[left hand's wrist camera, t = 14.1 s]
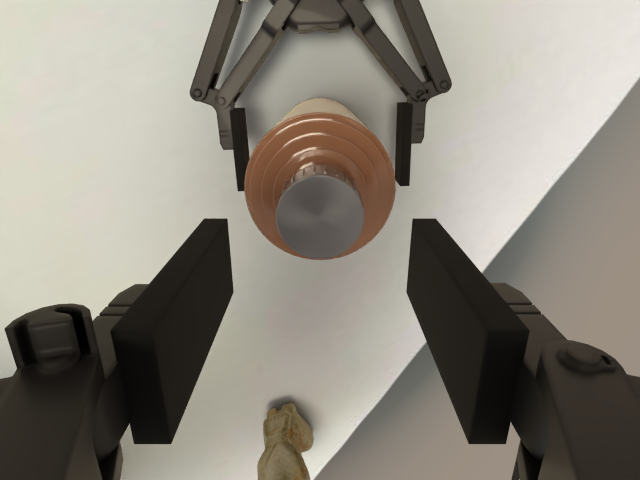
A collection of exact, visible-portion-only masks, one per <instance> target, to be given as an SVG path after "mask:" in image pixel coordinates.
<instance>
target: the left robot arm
mask: <svg viewBox="0 0 640 480" xmlns="http://www.w3.org/2000/svg"><path fill="white" fill-rule="evenodd" d="M232 294H233V281H232V269H231V257H230V245H229V233H228V221H227V219H204V220H203V221H202V222H201V223H200V224H199V226H198V227H197V228H196V229H195V230H194V232H193V233H192V234H191V235H190V236H189V238H188V239H187V240H186V241H185V242H184V243H183V245H182V246H181V247H180V248H179V249H178V251H177V252H176V253H175V254H174V255H173V256H172V258H171V259H170V260H169V261H168V262H167V264H166V265H165V266H164V267H163V268H162V270H161V271H160V272H159V273H158V274H157V275H156V277H155V278H154V279H153V280H152V281H151V283H150V284H135V285H133V286H131V287H130V288H128V289H126V290H124V291H123V292H121V293H119V294H118V295H117V296H116V297H115V298H114V299H113V300H112V301H111V302H110V303H109V304H108V307H106V308H105V309H104V310H103V311H102V312H101V313H100V316H97V317H96V318H95V319H94V320H93V321H92V317H91V313H90V310H89V309H88V308H86V307H85V306H84V305H78V304H58V305H53V306H48V307H43V308H40V309H37V310H35V311H32V312H29V313H26V314H24V315H23V316H21V317H19V318H17V319H15V320H14V321H12V322H11V323H10V324H9V325H8V326H7V327H6V328H5V332H6V335H7V338H8V341H9V344H10V347H11V350H12V354H13V357H14V360H15V363H16V366H17V370H16V372H15V373H14V375H13V377H8V378H3V379H0V480H120V477H121V470H122V463H123V455H122V449H121V444H120V439H121V437H122V436H123V434H124V432H125V430H126V429H127V427H128V425H129V423H130V426H131V431H132V436H133V440H134V444H171V443H172V441H173V438H174V436H175V433H176V431H177V428H178V426H179V423H180V421H181V419H182V416H183V414H184V411H185V409H186V406H187V404H188V402H189V399H190V397H191V394H192V392H193V389H194V387H195V385H196V382H197V380H198V377H199V375H200V372H201V370H202V367H203V365H204V363H205V360H206V358H207V355H208V353H209V350H210V348H211V346H212V343H213V341H214V338H215V336H216V333H217V331H218V329H219V326H220V324H221V321H222V319H223V316H224V314H225V312H226V309H227V307H228V304H229V302H230V299H231V297H232ZM407 294H408V297H409V299H410V302H411V304H412V307H413V309H414V312H415V314H416V316H417V319H418V321H419V324H420V326H421V329H422V331H423V333H424V336H425V338H426V341H427V343H428V345H429V348H430V350H431V353H432V355H433V358H434V360H435V363H436V365H437V367H438V370H439V372H440V375H441V377H442V380H443V382H444V385H445V387H446V389H447V392H448V394H449V397H450V399H451V402H452V404H453V406H454V409H455V411H456V414H457V416H458V419H459V421H460V423H461V426H462V428H463V431H464V433H465V436H466V438H467V440H468V443H469V444H506V440H507V436H508V431H509V426H510V422H511V423H512V425H513V426H514V428H515V430H516V432H517V433H518V435H519V437H520V439H521V440H520V444H519V449H518V453H517V458H516V462H515V466H514V471H513V475H512V480H519V479H520V480H640V377H637V376H631V375H627V374H626V373H625V371H624V369H623V367H622V366H621V365H620V364H619V363H618V362H617V361H616V359H614V358H613V357H611V356H610V355H608V354H607V353H605V352H604V351H602V350H600V349H597V348H595V347H593V346H590V345H588V344H584V343H580V342H576V341H570V340H567V339H566V338H565V337H564V336H563V335H562V334H561V333H560V332H559V331H558V330H557V329H556V328H555V327H554V326H553V324H551V322H550V321H549V320H548V319H547V318H546V317H545V316H544V315H541V312H540V311H539V310H538V309H537V308H536V307H535V306H534V305H532V303H531V301H529V299H528V298H527V297H526V296H525V295H524V294H523V293H522V292H520V291H518V290H517V289H515V288H513V287H511V286H510V285H508V284H506V283H489V281H488V280H487V279H486V278H485V277H484V276H483V274H482V273H481V272H480V271H479V270H478V268H477V267H476V266H475V265H474V264H473V262H472V261H471V260H470V259H469V258H468V256H467V255H466V254H465V253H464V252H463V251H462V249H461V248H460V247H459V246H458V245H457V243H456V242H455V241H454V240H453V239H452V238H451V236H450V235H449V234H448V233H447V232H446V230H445V229H444V228H443V227H442V226H441V224H440V223H439V222H438V221H437V220H436V219H413V221H412V233H411V245H410V257H409V269H408V281H407Z"/></svg>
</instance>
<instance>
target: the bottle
mask: <svg viewBox="0 0 640 480" xmlns="http://www.w3.org/2000/svg"><path fill="white" fill-rule="evenodd" d="M313 165H315V166H324V165H326V166H328V167H332V168H337V170H339V171H341V172H343V173H346V175H347V176H348V177H349V178H350V179H351V181H352V180H353V181H354V184H355V187H356V189H358V190H359V193H360V196H361V199H362V200H361V201H362V204H363V207H364V224H363V228H362V231H361V234H360V235H359V237H358V239H357V240H356V242H355V243H354V244H353V245H352V246H351V247H350V248H349V249H348V250H347V251H345V252H343V253H342V254H340V255H338V256H335V257H332V258H327V259H334V258H339V257H342V256H345V255H348V254H350V253H353V252H355V251H357V250H358V249H360V248H362V247H363V246H365V245H366V244H367V243H368V242H370V241H371V240H372V239H373V238H374V237H375V236H376V235H377V234H378V233H379V231H380V230H381V229H382V227H383V226H384V224H385V223H386V221H387V219H388V217H389V215H390V212H391V210H392V206H393V202H394V198H395V175H394V169H393V166H392V162H391V160H390V157H389V155H388V153H387V151H386V149H385V148H384V146H383V145H382V143H381V142H380V141H379V139H378V138H377V137H376V136H375V135H374V134H373V133H372V132H371V131H370V130H369V129H368V128H367V127H366V126H365V125H364V124H363V123H362V122H361V121H360V120H359V119H358V118H357V117H356V116H355V115H354V114H353V113H352V112H351V111H350V110H349V109H347V108H346V107H345V106H344V105H342V104H341V103H339V102H337V101H334V100H331V99H327V98H313V99H309V100H306V101H303V102H301V103H299V104H298V105H296V106H295V107H294V108H292V109H291V110H290V111H289V112H288V113H287V114H286V115H285V116H284V117H283V118H282V119H281V120H280V121H279V122H278V123H277V124H276V125H275V126H274V127H273V128H272V129H271V130H270V131H269V132H268V133H267V134H266V135H265V136H264V137H263V138H262V139H261V141H260V142H259V143H258V145H257V146H256V148H255V149H254V151H253V153H252V155H251V157H250V160H249V162H248V166H247V170H246V174H245V197H246V203H247V206H248V210H249V212H250V215H251V217H252V219H253V221H254V222H255V224H256V226H257V227H258V229H259V230H260V231H261V233H262V234H263V235H264V236H265V237H266V238H267V239H268V240H269V241H270V242H272V243H273V244H274V245H275V246H277V247H278V248H280V249H282V250H283V251H285V252H287V253H290V254H292V255H295V256H298V257H301V258H306V259H313V260H326V259H314V258H308V257H305V256H303V255H300V254H298V253H297V252H295V251H293V250H292V249H291V248H290V247H289V246H288V245H287V244H286V243H285V242H284V240H283V239H282V237H281V236H280V233H279V231H278V228H277V223H276V208H277V205H278V202H279V201H278V199H279V196H280V193H281V190H283V189H284V186H285V183H286V181H289V179H290V178H291V177H292V176H293V174H294V173H295V174H296V173H297V172H299V171H301V170H302V168H304V169H305V168H308V167H312V166H313Z"/></svg>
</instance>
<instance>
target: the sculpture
mask: <svg viewBox="0 0 640 480" xmlns="http://www.w3.org/2000/svg"><path fill="white" fill-rule="evenodd" d="M263 431H264V443H265V451H264V452H263V454H262V456H261V458H260V459H259V462H258V480H310V476H309V472H308V470H307V467H306V465H305V463H304V460H303V458H302V455H301V453H302V452H305V451H308V450H309V449H310V448H311V447H312V444H313V434H312V431H311V429H310V427H309V426H308V424H307V423H306V422H305V421H304V419H303V418H301V417H300V415H299V414H298V412H297V411H296V406H295V405H294V404H293V403H289V404H285V405H283V407H282V408H281V410H279V409H278V408H273V409H271V410H269V411H268V412H267V419H265V421H264V428H263Z"/></svg>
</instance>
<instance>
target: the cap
mask: <svg viewBox="0 0 640 480" xmlns="http://www.w3.org/2000/svg"><path fill="white" fill-rule="evenodd" d="M361 200H362V199H361V196H360V193H359V190H358V189H356V187H355V184H354V181H353V180H352V181H351V179H350V178H349V177H348V176H347V175H346V173H343V172H341V171H339V170H337V168H332V167H328V166H326V165H324V166H315V165H313V166H312V167H308V168H305V169H304V168H302V170H301V171H299V172H297V173H296V174H295V173H294V174H293V176H292V177H291V178H290V179H289V181H286V183H285V186H284V189H283V190H281V193H280V196H279V199H278V201H279V202H278V205H277V208H276V223H277V228H278V231H279V233H280V236H281V237H282V239H283V240H284V242H285V243H286V244H287V245H288V246H289V247H290V248H291V249H292V250H293V251H295V252H297V253H298V254H300V255H303V256H305V257H308V258H314V259H327V258H332V257H335V256H338V255H340V254H342V253H343V252H345V251H347V250H348V249H349V248H350V247H351V246H352V245H353V244H354V243H355V242H356V240H357V239H358V237H359V235H360V234H361V231H362V228H363V224H364V207H363V204H362V201H361Z"/></svg>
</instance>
